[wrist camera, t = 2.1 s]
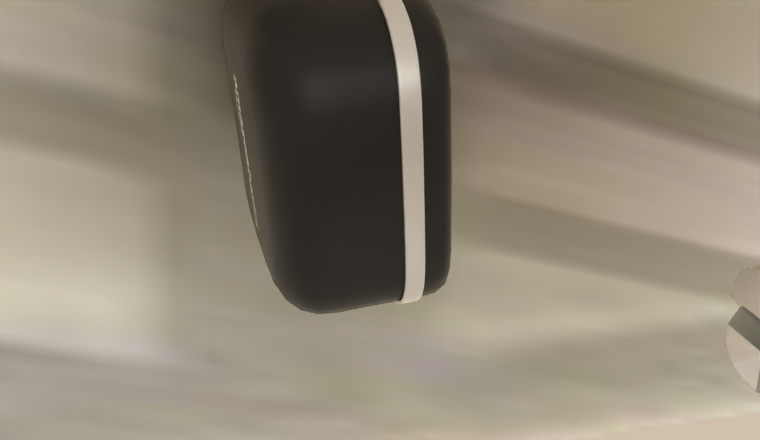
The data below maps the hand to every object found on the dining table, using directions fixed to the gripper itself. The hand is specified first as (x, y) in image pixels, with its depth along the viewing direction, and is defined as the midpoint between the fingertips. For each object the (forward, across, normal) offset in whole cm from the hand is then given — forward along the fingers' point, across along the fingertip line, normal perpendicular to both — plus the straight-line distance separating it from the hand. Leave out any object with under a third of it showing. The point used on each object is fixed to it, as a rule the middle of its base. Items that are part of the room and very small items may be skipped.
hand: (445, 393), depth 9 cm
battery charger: (+17, 0, 0) cm, 17 cm away
